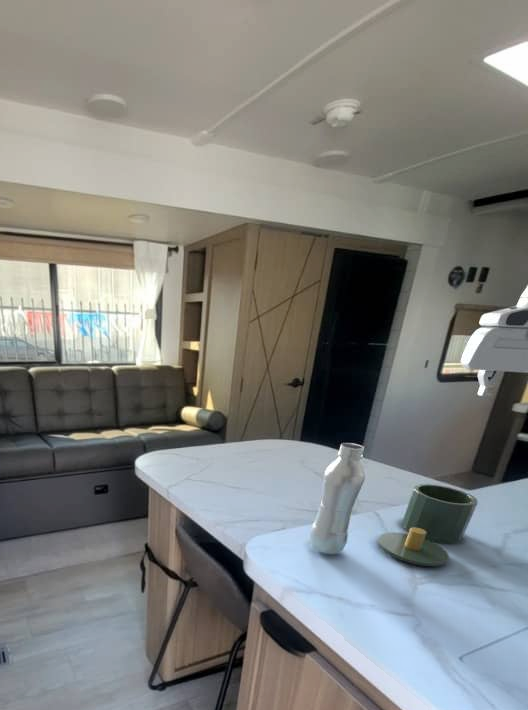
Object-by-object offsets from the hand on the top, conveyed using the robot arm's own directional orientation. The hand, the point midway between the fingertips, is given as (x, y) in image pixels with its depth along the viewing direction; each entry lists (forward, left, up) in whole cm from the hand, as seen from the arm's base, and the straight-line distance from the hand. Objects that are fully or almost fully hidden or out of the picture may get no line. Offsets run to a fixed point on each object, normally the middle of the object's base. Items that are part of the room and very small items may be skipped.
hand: (510, 397), depth 77 cm
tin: (+8, +6, -27) cm, 29 cm away
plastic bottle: (+32, +20, -27) cm, 46 cm away
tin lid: (+16, +17, -26) cm, 35 cm away
